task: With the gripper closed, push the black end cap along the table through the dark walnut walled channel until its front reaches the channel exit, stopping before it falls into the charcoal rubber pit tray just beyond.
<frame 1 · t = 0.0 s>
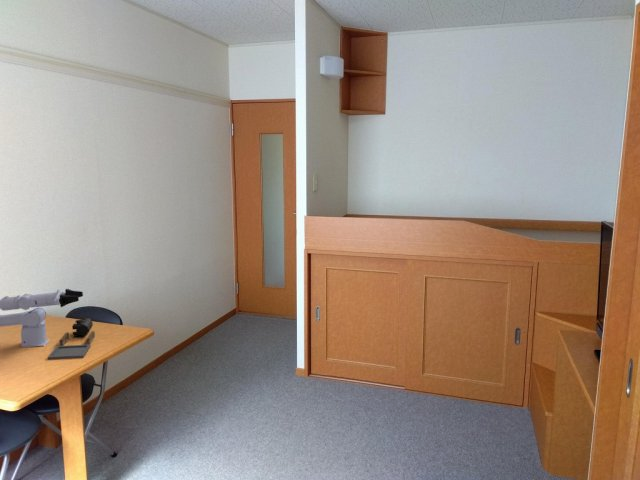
hand: (80, 296, 227), 22 cm above the table, tool horizontal, fingers open, 7 cm apart
channel walls: (77, 341, 230), on the table
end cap: (83, 335, 239), on the table
pit tray: (70, 352, 217), on the table
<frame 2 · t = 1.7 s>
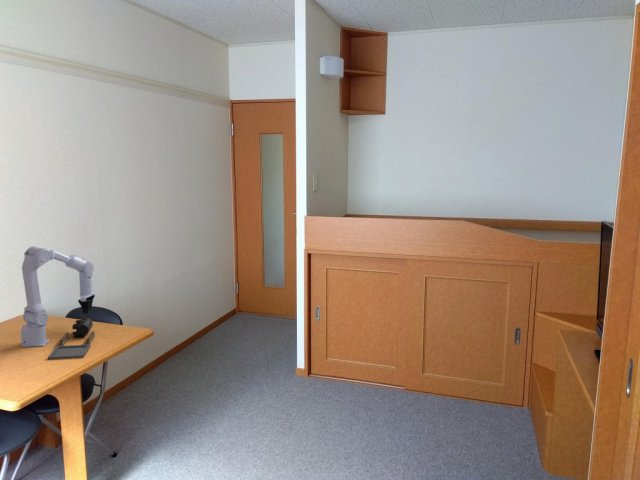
hand: (87, 311, 248), 8 cm above the table, tool pointing down, fingers open, 6 cm apart
nothing on the table moved.
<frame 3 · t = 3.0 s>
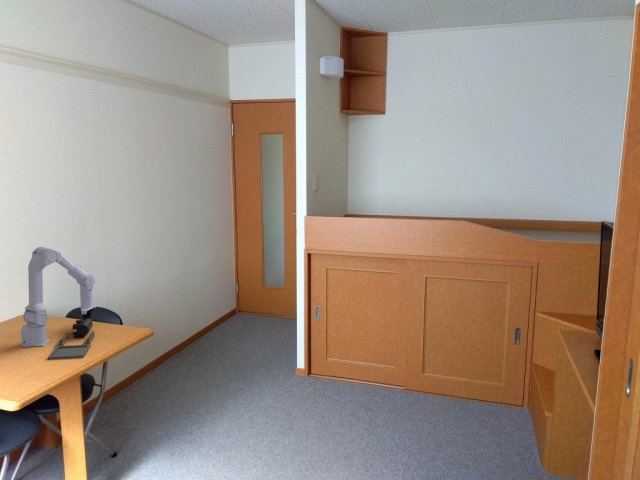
hand: (87, 323, 249), 2 cm above the table, tool pointing down, fingers closed
nothing on the table moved.
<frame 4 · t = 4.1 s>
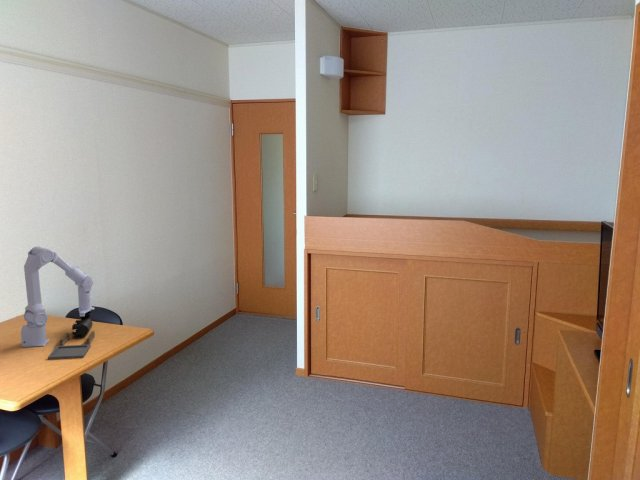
hand: (86, 326, 245), 2 cm above the table, tool pointing down, fingers closed
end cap: (83, 335, 239), on the table, touching gripper
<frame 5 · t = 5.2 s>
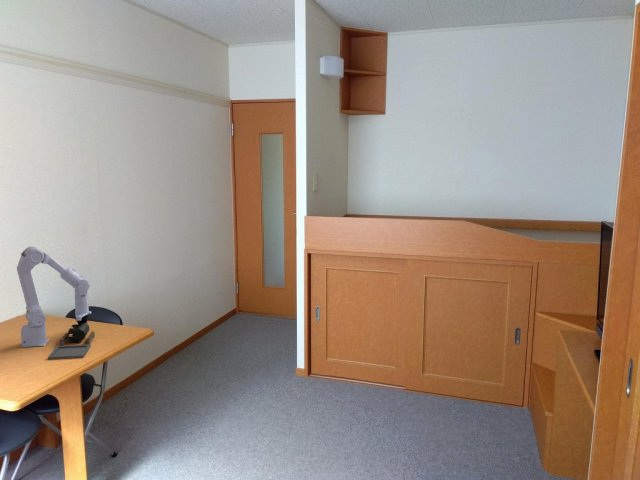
hand: (83, 330, 239), 2 cm above the table, tool pointing down, fingers closed
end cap: (79, 339, 233), on the table, touching gripper
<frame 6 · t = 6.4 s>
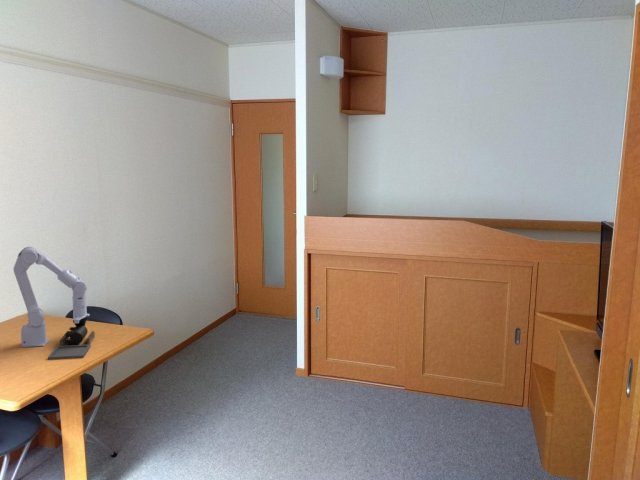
hand: (80, 333, 235), 2 cm above the table, tool pointing down, fingers closed
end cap: (77, 342, 229), on the table, touching gripper
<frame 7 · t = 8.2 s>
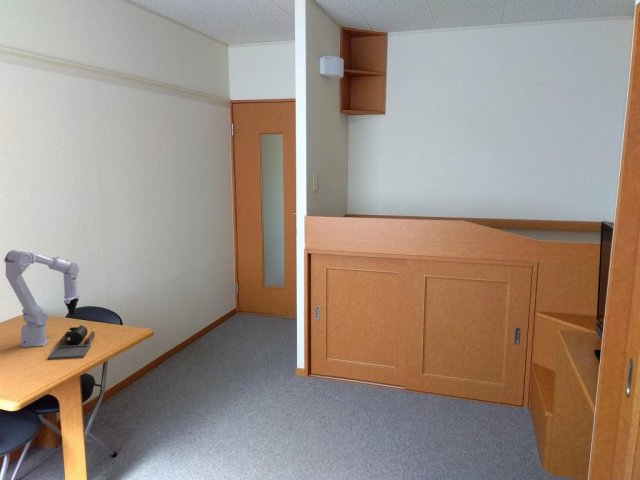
hand: (72, 314, 240), 9 cm above the table, tool pointing down, fingers closed
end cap: (77, 343, 229), on the table
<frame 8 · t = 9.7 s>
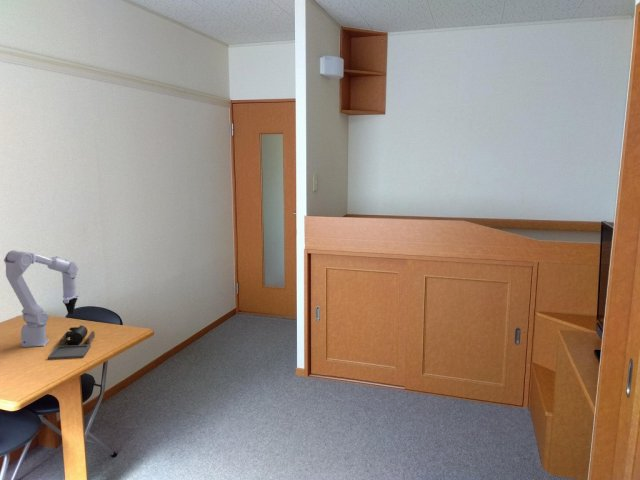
hand: (70, 313, 240), 9 cm above the table, tool pointing down, fingers closed
nothing on the table moved.
at the end: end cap 1.3 cm from the target spot, on the table; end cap touching table; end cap tilted 0° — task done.
